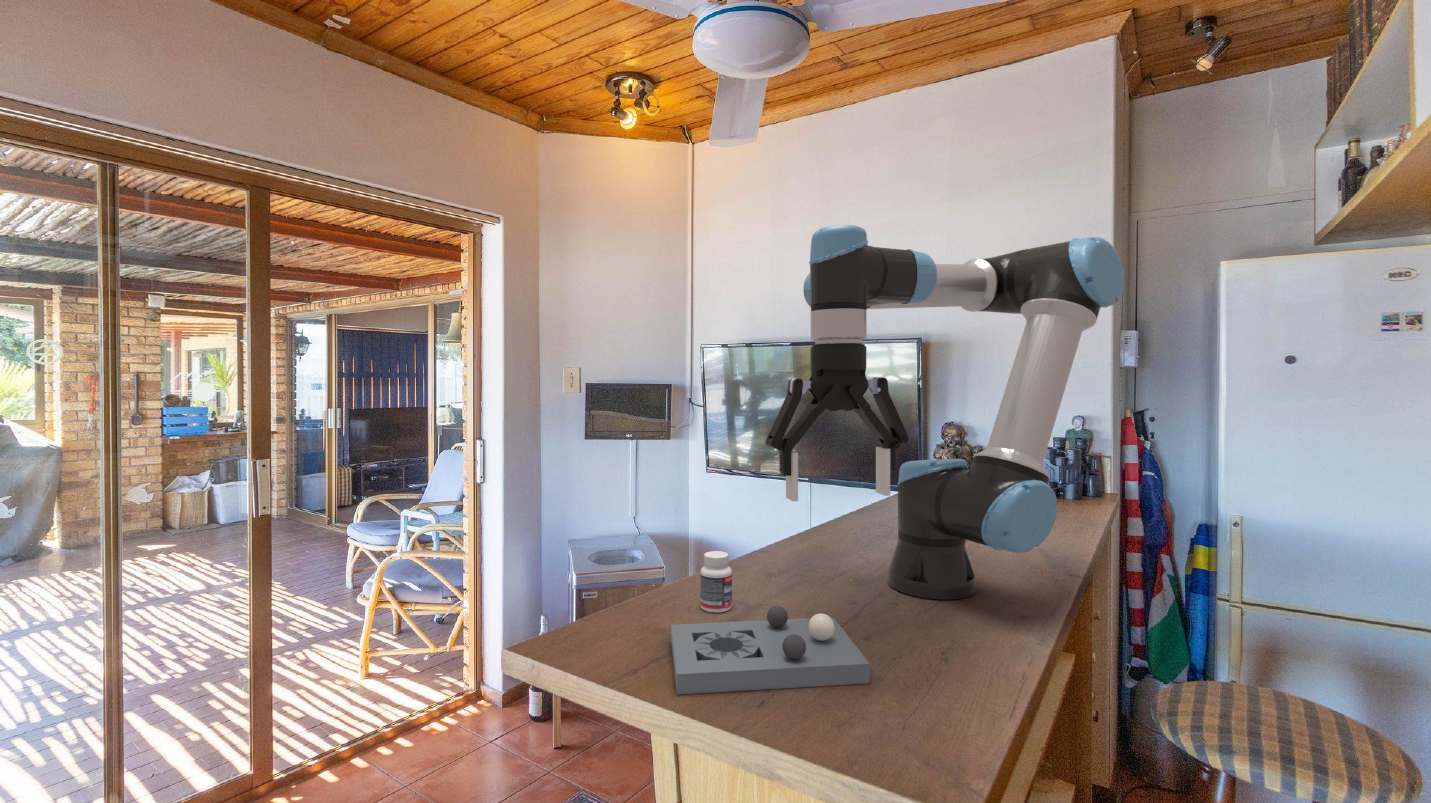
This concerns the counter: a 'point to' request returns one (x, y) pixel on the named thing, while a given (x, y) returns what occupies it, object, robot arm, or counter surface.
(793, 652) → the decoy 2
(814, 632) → the ball
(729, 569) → the pill bottle
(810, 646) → the plate
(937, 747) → the counter surface
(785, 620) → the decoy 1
